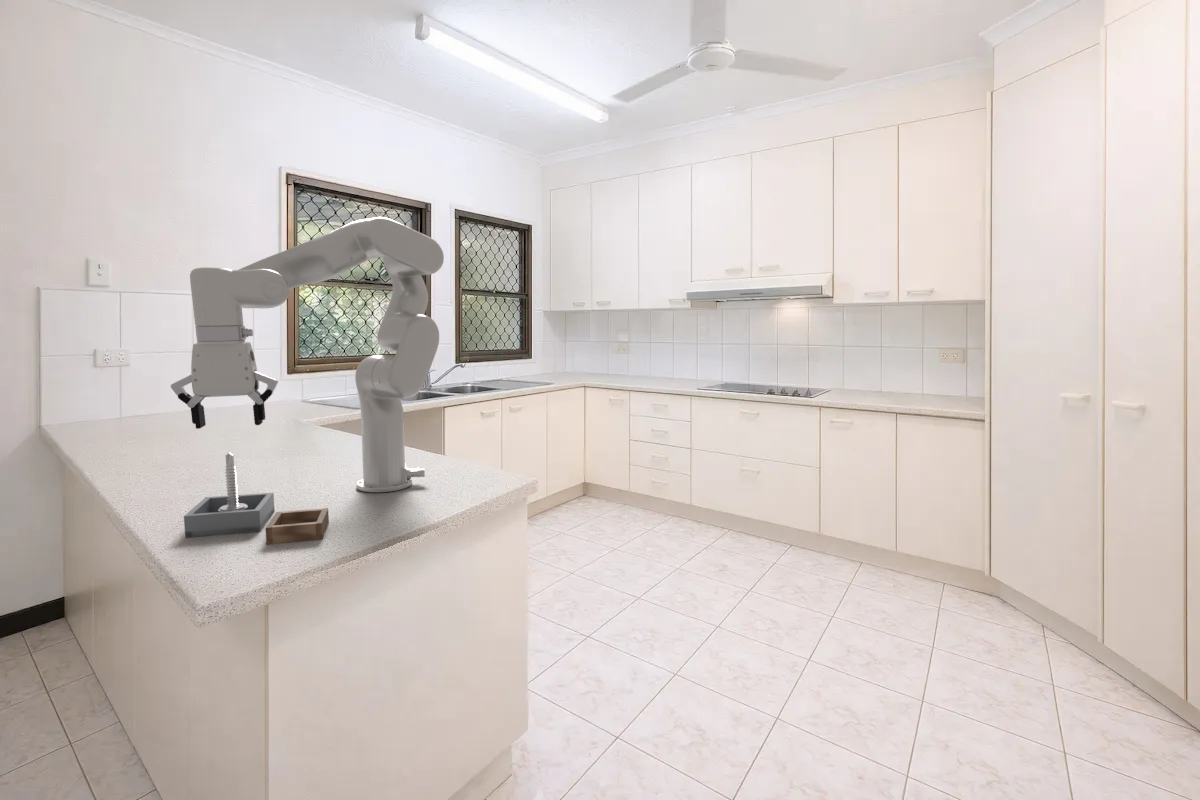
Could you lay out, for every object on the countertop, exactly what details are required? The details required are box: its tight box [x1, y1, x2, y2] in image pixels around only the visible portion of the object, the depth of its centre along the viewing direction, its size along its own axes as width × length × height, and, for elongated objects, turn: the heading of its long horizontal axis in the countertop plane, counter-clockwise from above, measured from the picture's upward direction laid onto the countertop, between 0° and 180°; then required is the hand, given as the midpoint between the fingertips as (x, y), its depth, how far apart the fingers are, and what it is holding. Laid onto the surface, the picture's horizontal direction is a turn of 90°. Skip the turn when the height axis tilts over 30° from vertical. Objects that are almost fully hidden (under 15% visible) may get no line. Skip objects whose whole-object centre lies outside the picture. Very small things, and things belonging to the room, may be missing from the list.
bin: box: [183, 492, 275, 539], centre depth 111 cm, size 12×12×4 cm
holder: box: [265, 507, 330, 545], centre depth 106 cm, size 9×9×3 cm
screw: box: [218, 452, 248, 512], centre depth 110 cm, size 13×5×5 cm
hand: (230, 425), depth 109 cm, fingers open, 9 cm apart
